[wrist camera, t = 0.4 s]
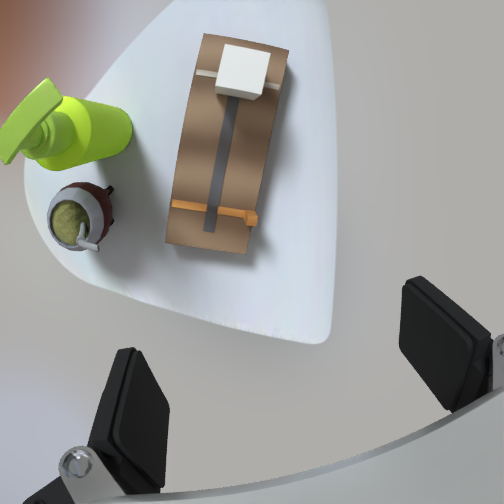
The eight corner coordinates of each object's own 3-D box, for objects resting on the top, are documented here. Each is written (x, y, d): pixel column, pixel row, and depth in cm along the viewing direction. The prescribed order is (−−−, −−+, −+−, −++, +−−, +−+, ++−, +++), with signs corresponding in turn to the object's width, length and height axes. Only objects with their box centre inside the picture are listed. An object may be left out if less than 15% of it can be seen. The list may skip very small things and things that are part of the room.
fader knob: (222, 57, 27) (224, 43, 23) (261, 64, 28) (270, 53, 23) (214, 93, 29) (215, 85, 24) (254, 100, 29) (261, 94, 25)
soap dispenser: (149, 127, 32) (78, 122, 14) (105, 166, 33) (7, 208, 14) (120, 90, 30) (29, 54, 11) (76, 130, 31) (-36, 141, 12)
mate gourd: (60, 204, 34) (-8, 246, 20) (100, 158, 32) (36, 177, 19) (99, 246, 36) (48, 308, 22) (142, 204, 35) (101, 249, 21)
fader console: (204, 41, 29) (203, 25, 24) (283, 56, 31) (295, 44, 26) (168, 234, 37) (162, 250, 32) (243, 245, 38) (248, 263, 33)
